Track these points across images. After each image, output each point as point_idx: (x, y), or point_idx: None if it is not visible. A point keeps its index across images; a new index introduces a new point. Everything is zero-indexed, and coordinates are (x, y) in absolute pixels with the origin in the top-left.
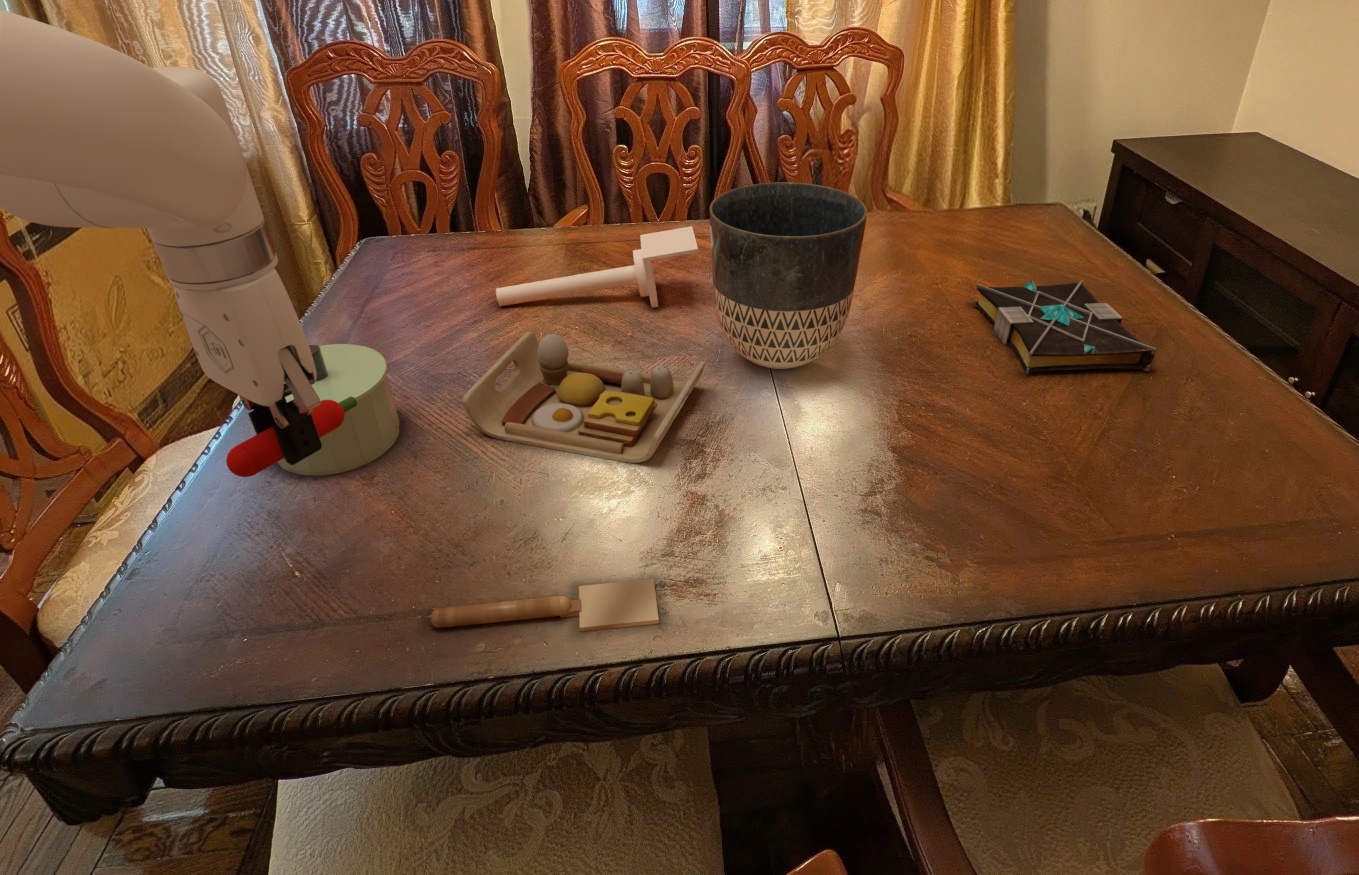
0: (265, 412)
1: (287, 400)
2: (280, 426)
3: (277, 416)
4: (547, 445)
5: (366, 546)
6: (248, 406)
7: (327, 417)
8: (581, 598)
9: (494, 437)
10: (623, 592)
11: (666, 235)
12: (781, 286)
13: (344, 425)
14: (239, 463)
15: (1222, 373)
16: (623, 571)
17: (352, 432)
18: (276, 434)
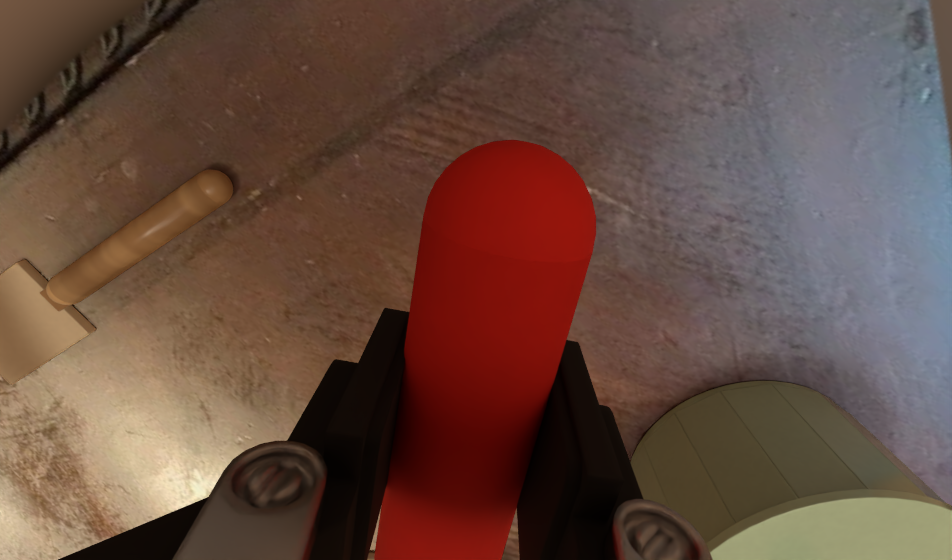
0: (551, 514)
1: (845, 538)
2: (296, 452)
3: (234, 520)
4: (372, 557)
5: None
6: (635, 530)
7: (380, 554)
8: (62, 313)
9: None
10: (23, 347)
11: None
12: None
13: (684, 507)
14: (460, 172)
15: None
16: (75, 383)
17: (668, 495)
18: (360, 400)
